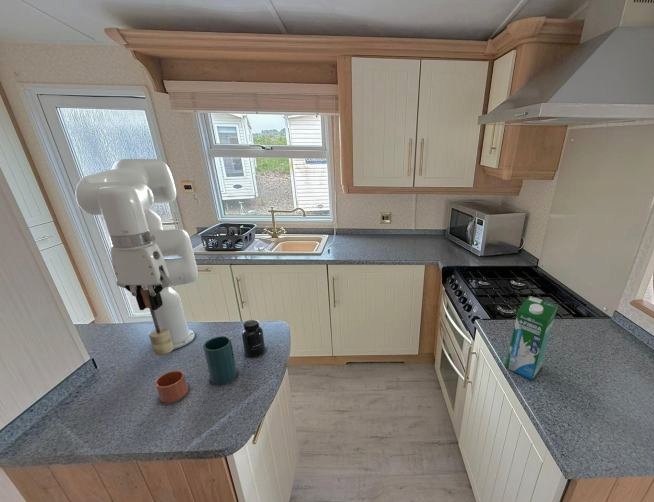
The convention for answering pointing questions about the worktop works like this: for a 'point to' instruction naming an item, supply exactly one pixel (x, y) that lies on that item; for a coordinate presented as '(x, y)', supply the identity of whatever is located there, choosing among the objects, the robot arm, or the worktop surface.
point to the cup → (220, 359)
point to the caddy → (171, 386)
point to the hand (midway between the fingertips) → (151, 307)
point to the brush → (157, 329)
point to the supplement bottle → (253, 338)
